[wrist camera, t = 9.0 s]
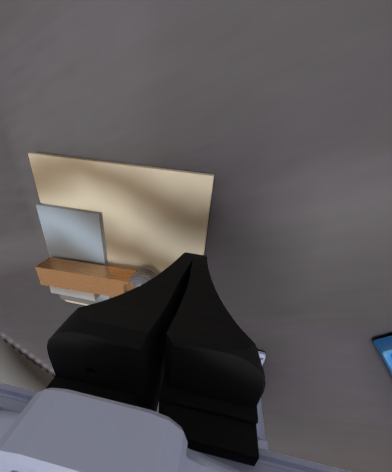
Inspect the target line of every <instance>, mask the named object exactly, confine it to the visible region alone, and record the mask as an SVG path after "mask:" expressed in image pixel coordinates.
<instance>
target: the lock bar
mask: <svg viewBox="0 0 392 472" xmlns="http://www.w3.org/2000/svg"><path fill="white" fill-rule="evenodd" d="M35 268H36V271H37V274H38V277H39V280H40V283H41V285H46V286H52V287H58V288H64V289H70V290H76V291H81V292H87V293H93V294H99V295H105V296H111V297H115V296H118V295H121V294H123V293H125V292H128V291H130V290H132V289H134V288H136V287H138V286H140V285H142V284H144V283H146V282H147V281H149V280H151V279H152V278H154V277H155V276H157V275H156V274H155V273H154V272H152V271H150V270H148V269H138V270H130V269H124V268H117V267H111V266H104V265H98V264H91V263H85V262H78V261H72V260H65V259H59V258H52V257H50V258H48V259H46V260H45V261H43V262H42V263H40V264H39V265H37V266H36V267H35Z"/></svg>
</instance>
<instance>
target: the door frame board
mask: <svg viewBox="0 0 392 472" xmlns="http://www.w3.org/2000/svg"><path fill="white" fill-rule="evenodd" d="M28 155H29V159H30V163H31V167H32V171H33V175H34V179H35V183H36V187H37V191H38V195H39V198H40V202H41V203H40V204H37V205H36V207H37V211H38V215H39V219H40V222H41V226H42V230H43V234H44V237H45V241H46V245H47V249H48V252H49V256H50V257H52V258H59V259H65V260H72V261H78V262H85V263H91V264H98V265H104V266H111V267H117V268H124V269H130V270H138V269H148V270H150V271H152V272H154V273H155V274H156V275H158V274H159V273H161V272H162V271H164V270H165V269H166V268H167V267H169V266H170V265H171V264H172V263H173V262H175V261H176V260H177V259H178V258H179V257H180V256H181V255H182V254H183V253H185V252H187V253H193V254H199V255H204V251H205V243H206V235H207V228H208V220H209V213H210V205H211V197H212V190H213V182H214V175H215V174H207V173H199V172H191V171H183V170H175V169H167V168H159V167H151V166H142V165H134V164H126V163H118V162H110V161H102V160H94V159H86V158H78V157H70V156H62V155H53V154H45V153H37V152H36V153H28ZM50 290H51V293H57V294H60V298H61V299H64V300H65V301H67V302H72V303H77V304H82V305H90V304H94V303H97V302H101V301H104V300H107V299H110V298H113V297H111V296H105V295H99V294H93V293H87V292H81V291H76V290H70V289H64V288H58V287H52V286H50Z"/></svg>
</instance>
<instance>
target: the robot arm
mask: <svg viewBox="0 0 392 472" xmlns="http://www.w3.org/2000/svg"><path fill="white" fill-rule="evenodd" d="M47 350H48V355H49V358H50V361H51V363H52V366H53V369H54V372H55V374H56V376H55V377H54V379H53V380H52V381H51V383H50V384H49V385H48V387H47V388H46V389H45V390H43V391H41V392H36V391H32V390H28V389H24V388H19V387H16V386H12V385H8V384H4V383H0V472H352V471H349V470H345V469H341V468H337V467H333V466H329V465H325V464H321V463H317V462H313V461H309V460H305V459H301V458H297V457H293V456H289V455H285V454H281V453H277V452H273V451H269V450H268V443H267V441H266V439H265V430H264V422H263V413H262V404H261V396H262V394H263V391H264V388H265V376H264V371H263V367H262V365H263V363H264V360H265V358H266V355H265V353H264V352H261V351H258V350H257V348H256V345H255V343H254V342H253V341H252V340H251V339H250V338H249V337H248V336H247V335H246V334H245V333H244V332H243V331H242V330H241V328H240V327H239V326H238V325H237V324H236V322H235V321H234V320H233V318H232V317H231V315H230V314H229V312H228V311H227V310H226V308H225V306H224V305H223V303H222V301H221V300H220V298H219V296H218V294H217V292H216V290H215V287H214V285H213V282H212V280H211V277H210V273H209V270H208V265H207V257H206V256H205V255H199V254H193V253H187V252H185V253H183V254H182V255H181V256H180V257H179V258H178V259H177V260H176V261H175V262H173V263H172V264H171V265H170V266H169V267H167V268H166V269H165V270H164V271H162V272H161V273H159V274H158V275H157V276H155V277H154V278H152V279H151V280H149V281H147V282H146V283H144V284H142V285H140V286H138V287H136V288H134V289H132V290H130V291H128V292H125V293H123V294H121V295H118V296H115V297H113V298H110V299H107V300H104V301H101V302H97V303H94V304H90V305H87V306H83V307H79V308H78V309H77V310H76V311H75V312H74V313H73V314H72V315H71V316H70V317H69V318H68V319H67V320H66V321H65V322H64V323H63V324H62V325H61V327H60V328H59V329H58V330H57V331H56V332H55V333H54V334H53V335H52V337H51V338H50V339H49V340H48V344H47ZM158 402H159V413H157V412H156V411H157V406H158Z"/></svg>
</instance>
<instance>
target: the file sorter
mask: <svg viewBox="0 0 392 472" xmlns="http://www.w3.org/2000/svg"><path fill="white" fill-rule="evenodd" d="M374 344H375V346H376V348H377V349H378V351H379V353H380V355H381V357H382V359H383V360H384V362H385V364H386V366H387V368H388V370H389V372H390V374H391V375H392V335H391V336H388V337H384V338H380V339H376V340H374Z"/></svg>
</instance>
